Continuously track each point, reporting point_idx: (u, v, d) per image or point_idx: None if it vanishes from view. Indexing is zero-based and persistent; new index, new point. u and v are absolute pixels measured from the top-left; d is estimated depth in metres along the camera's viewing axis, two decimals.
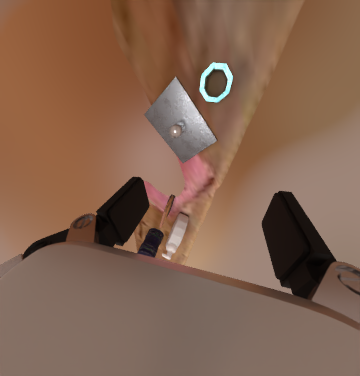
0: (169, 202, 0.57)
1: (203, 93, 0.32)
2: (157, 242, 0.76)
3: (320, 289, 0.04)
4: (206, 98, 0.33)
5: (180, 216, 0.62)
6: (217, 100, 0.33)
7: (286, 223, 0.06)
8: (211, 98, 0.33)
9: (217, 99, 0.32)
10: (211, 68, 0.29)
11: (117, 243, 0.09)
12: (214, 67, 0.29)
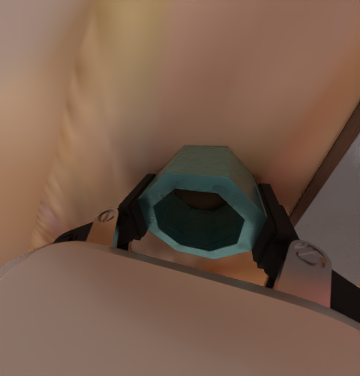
0: None
1: (251, 237, 0.07)
2: None
3: (285, 268, 0.05)
4: (257, 222, 0.07)
5: None
6: (224, 185, 0.06)
7: None
8: (240, 208, 0.06)
9: (221, 188, 0.06)
10: (184, 248, 0.10)
11: (134, 238, 0.09)
12: (177, 244, 0.10)
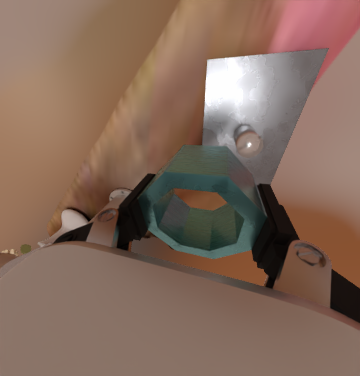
0: None
1: (251, 237, 0.07)
2: None
3: (284, 268, 0.05)
4: (256, 221, 0.07)
5: None
6: (224, 184, 0.06)
7: None
8: (239, 207, 0.06)
9: (221, 187, 0.06)
10: (184, 248, 0.10)
11: (135, 238, 0.09)
12: (176, 243, 0.10)
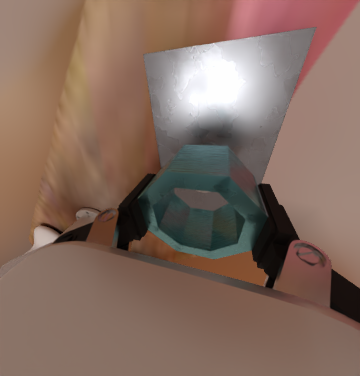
0: None
1: (252, 237, 0.07)
2: None
3: (284, 268, 0.05)
4: (257, 221, 0.07)
5: None
6: (225, 184, 0.06)
7: None
8: (240, 208, 0.06)
9: (222, 187, 0.06)
10: (184, 248, 0.10)
11: (135, 237, 0.09)
12: (176, 244, 0.10)
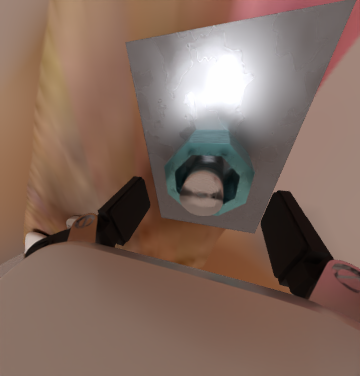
0: None
1: (244, 191, 0.11)
2: None
3: (317, 287, 0.04)
4: (248, 177, 0.10)
5: None
6: (226, 149, 0.09)
7: (284, 222, 0.06)
8: (236, 167, 0.10)
9: (224, 152, 0.09)
10: None
11: (118, 243, 0.09)
12: None
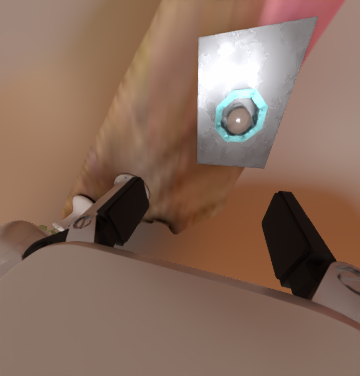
0: None
1: (261, 120, 0.19)
2: None
3: (320, 289, 0.04)
4: (264, 110, 0.19)
5: None
6: (254, 93, 0.18)
7: (286, 223, 0.06)
8: (258, 103, 0.18)
9: (252, 94, 0.18)
10: (230, 137, 0.22)
11: (117, 243, 0.09)
12: (227, 135, 0.22)
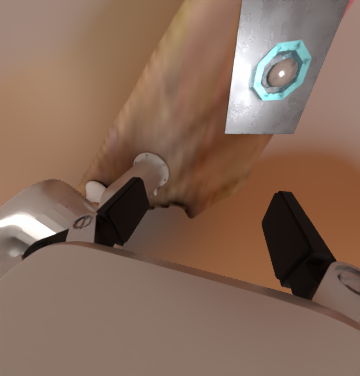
0: None
1: (303, 73, 0.20)
2: None
3: (320, 289, 0.04)
4: (307, 62, 0.20)
5: None
6: (299, 44, 0.19)
7: (286, 223, 0.06)
8: (302, 55, 0.19)
9: (297, 46, 0.19)
10: (268, 96, 0.23)
11: (117, 243, 0.09)
12: (265, 94, 0.23)
